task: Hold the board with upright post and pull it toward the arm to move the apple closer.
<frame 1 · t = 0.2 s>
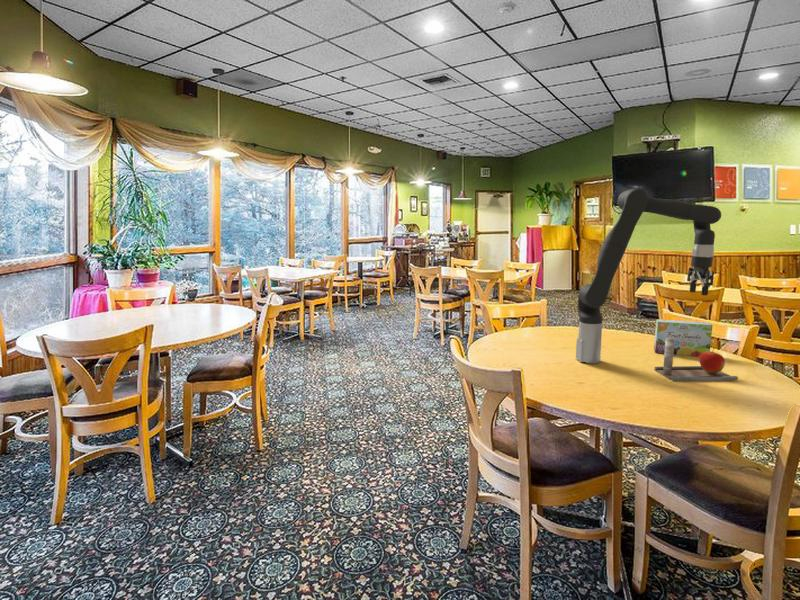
hand: (698, 293, 198), 29 cm above the table, tool pointing down, fingers open, 8 cm apart
lane rails: (694, 375, 183), on the table
apple: (712, 373, 182), point 1 cm above the table, touching board with upright post
board with upright post: (695, 357, 181), point 7 cm above the table, slide at 0.1 cm, touching apple
snack box: (680, 354, 212), on the table
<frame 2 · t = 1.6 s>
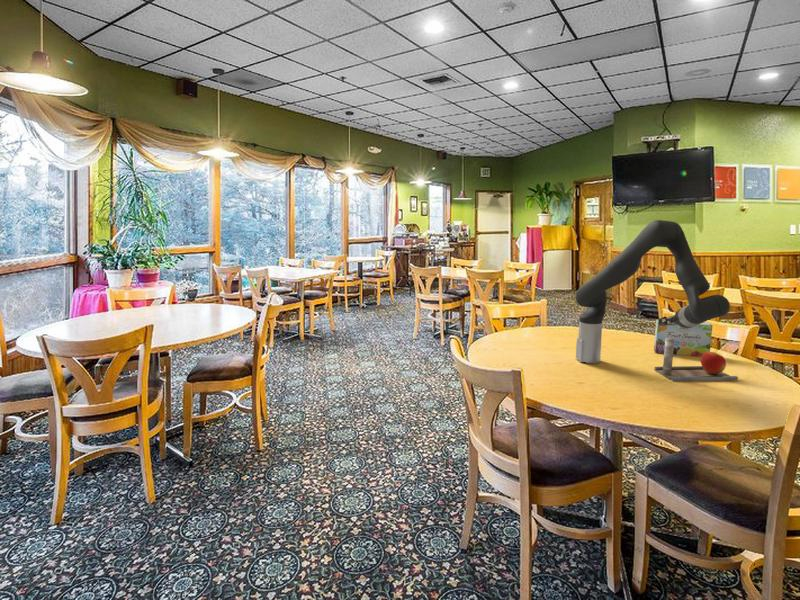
hand: (675, 322, 179), 21 cm above the table, tool tilted 70°, fingers open, 8 cm apart
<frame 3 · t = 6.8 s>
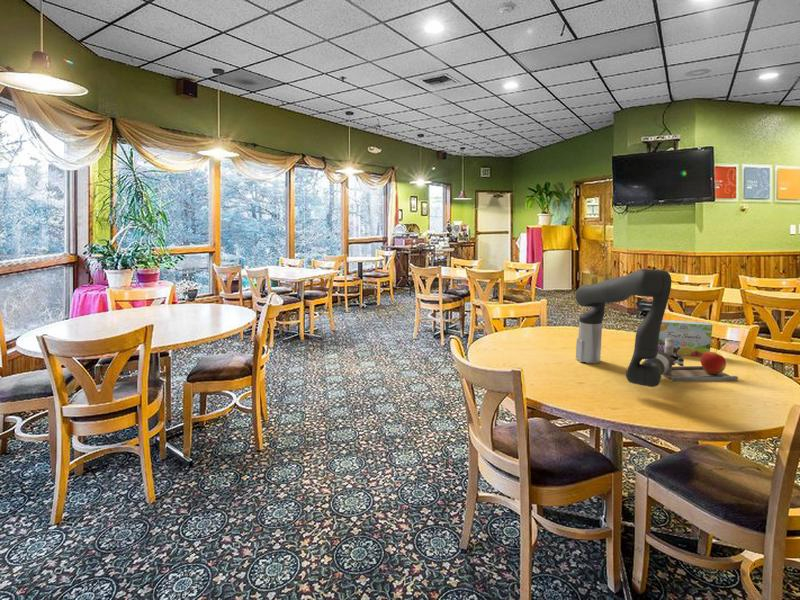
hand: (670, 354, 184), 8 cm above the table, tool horizontal, fingers closed on board with upright post, 3 cm apart
board with upright post: (695, 357, 181), point 7 cm above the table, slide at 0.2 cm, touching apple, gripper
everything else where it was.
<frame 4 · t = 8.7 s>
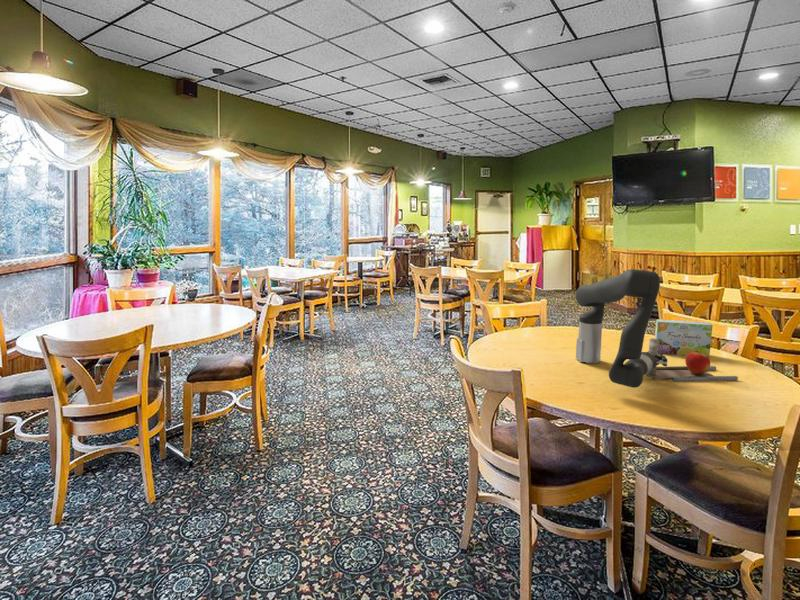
hand: (655, 354, 184), 8 cm above the table, tool horizontal, fingers closed on board with upright post, 3 cm apart
apple: (696, 374, 183), resting on board with upright post
board with upright post: (680, 357, 182), point 7 cm above the table, slide at 6.2 cm, touching apple, gripper
everything else where it was.
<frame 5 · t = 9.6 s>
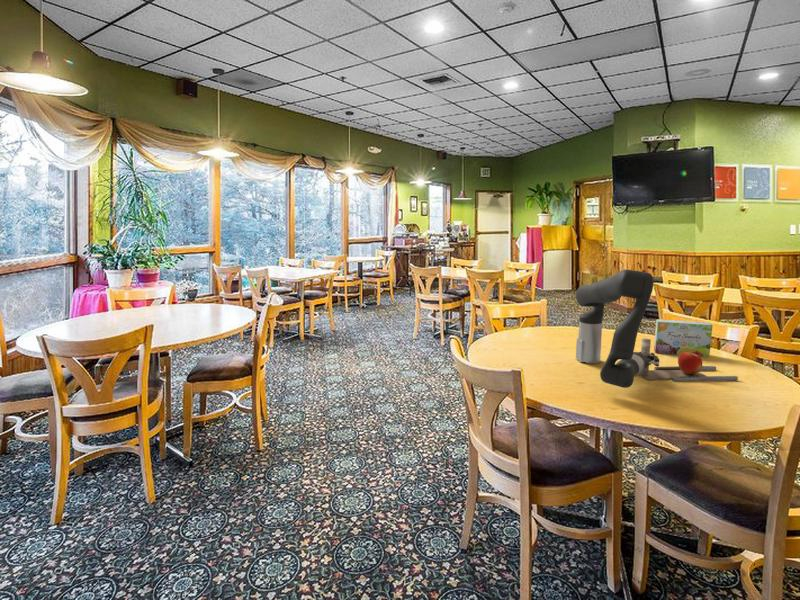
hand: (647, 354, 184), 8 cm above the table, tool horizontal, fingers closed on board with upright post, 3 cm apart
apple: (688, 374, 183), resting on board with upright post
board with upright post: (672, 357, 182), point 7 cm above the table, slide at 9.1 cm, touching apple, gripper
everything else where it was.
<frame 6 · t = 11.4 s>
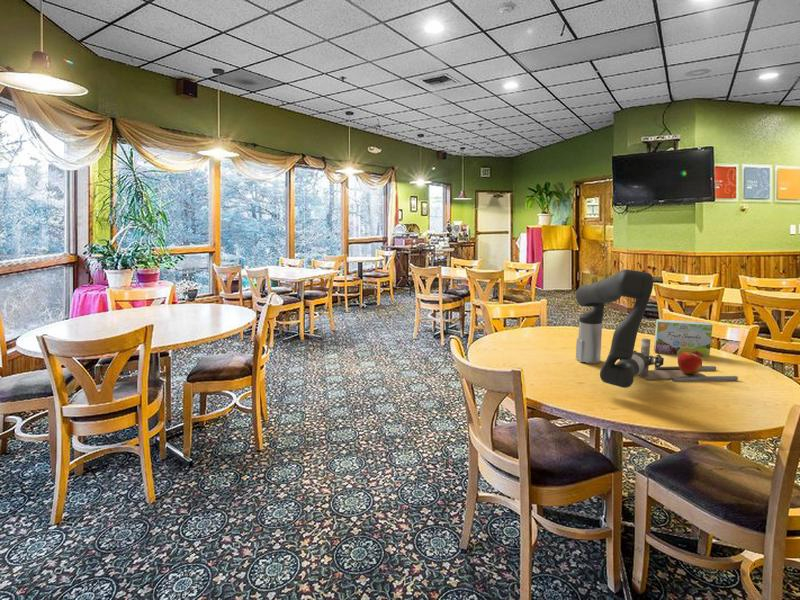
hand: (647, 355, 183), 8 cm above the table, tool horizontal, fingers open, 8 cm apart
board with upright post: (672, 357, 182), point 7 cm above the table, slide at 9.2 cm, touching apple
everything else where it was.
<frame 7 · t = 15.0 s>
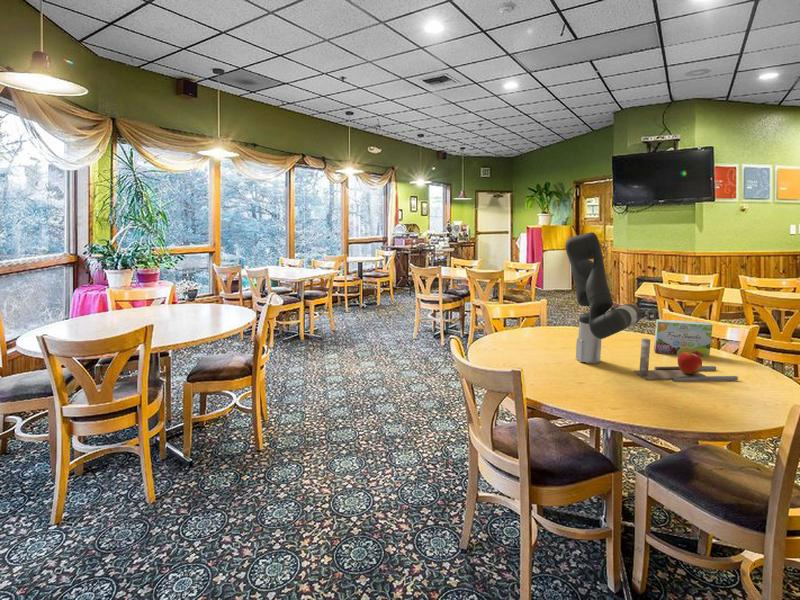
hand: (640, 309, 171), 28 cm above the table, tool horizontal, fingers open, 8 cm apart
nothing on the table moved.
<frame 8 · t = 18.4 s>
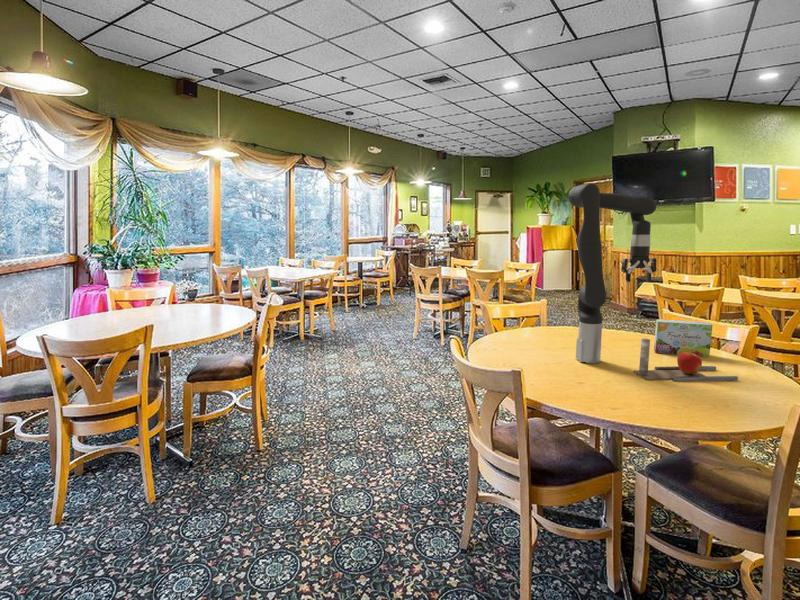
hand: (637, 281, 208), 33 cm above the table, tool pointing down, fingers open, 8 cm apart
nothing on the table moved.
at the end: board with upright post slide at 9.4 cm; apple inside the target area (0.5 cm from its centre), resting on board with upright post; apple touching board with upright post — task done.
